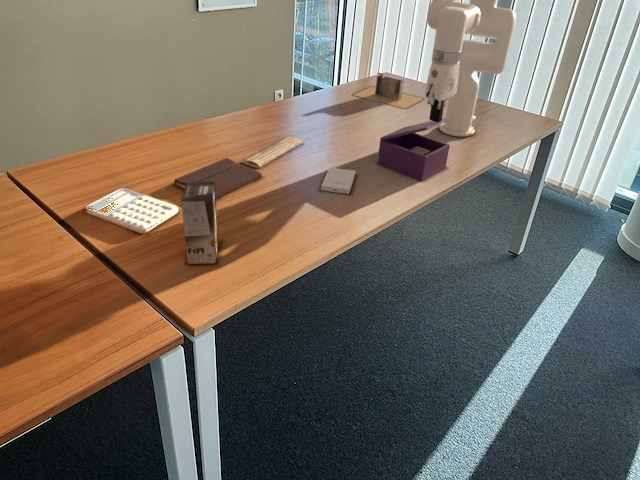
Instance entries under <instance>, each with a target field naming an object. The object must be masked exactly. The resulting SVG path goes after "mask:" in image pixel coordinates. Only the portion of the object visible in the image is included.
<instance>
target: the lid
mask: <svg viewBox="0 0 640 480" xmlns="http://www.w3.org/2000/svg"><path fill="white" fill-rule="evenodd" d="M445 117H446V116H445ZM445 117H442V121H440V122H435V121H431V120H429V121H425V122H421V123H417V124H413V125H409V126H404V127H401V128H400V129H397V130H395V131H392V132H390V133H388V134H385V135H383V136H381V137H380V138H379V139H380V140H384V139H389V138H393V137H398V136H403V135H407V134H412V133H420V132H425V131H429V130H431V129H433V128H436V127H437V126H440V124H442V123H444V122H446V121H448V120H451V119H452V117H446V118H445Z"/></svg>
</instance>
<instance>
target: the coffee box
mask: <svg viewBox="0 0 640 480" xmlns="http://www.w3.org/2000/svg"><path fill="white" fill-rule="evenodd" d="M180 203H181V213H182V221H183V230H184V231H183V232H184V240H185V248H186V249H185V250H186V258H187V259H186V260H187V264H189V265H191V264H197V265H198V264H216V261H217V256H218V255H217V254H218V248H219V242H220V239H219V237H220V236H219V223H218V210H217V199H216V194H215V182H187V184H186V187H185V190H184V189H183V193H182V196H181V199H180ZM188 260H189V261H188ZM190 260H191V261H190ZM200 260H201V261H200Z"/></svg>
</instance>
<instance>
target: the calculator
mask: <svg viewBox="0 0 640 480" xmlns="http://www.w3.org/2000/svg"><path fill="white" fill-rule="evenodd" d="M108 198H110V199H108ZM111 198H113V199H111ZM113 202H114V204H116V205H114V204H113V205H114V207H115V208H114V207H112V206H113V205H111V203H113ZM117 204H118V205H117ZM108 205H110V206H111V207H112V209H114V210H112V209H110V208H111V207H109V206H108ZM88 206H90V207H91V206H93V207H91V208H92V209H93V208H94V209H93V210H91V209H88V208H87V207H88ZM106 206H108V207H109V209H110V210H111V211H110V210H108V209H107V210H108V213H107V212H106V213H104V212H101V211H100V212H99V211H98V210H100V209H102V208H104V207H106ZM90 207H89V208H90ZM108 207H107V208H108ZM86 208H87V209H88V210H90V211H93V212H95V213H98V214H101V215H103V216H106V217H108V218H110V219H113V220H116V221H119V222H121V223H123V224H125V225H123V224H120V223H118V222H115V221H112V220H110V219H107V218H104V217H101V216H99V215H96V214H93V213H91V212H88V211H86V210H85V212H86V213H87V214H89V215H90V216H92V217H96V218H98V219H101V220H104V221H106V222H109V223H112V224H114V225H117V226H120V227H122V228H125V229H128V230H131V231H132V232H133V231H134V232H136V233H138V234H146V233H148V232H150V231H151V230H153V229H154V228H156V227H157V226H159V225H160V224H163V223H164V222H165V221H167V220H168V219H170V218H172V217H173V216H175V215H176V214H178V212H179V207H178V206H177V205H175V204H173V203H169V202H166V201H164V200H161V199H157V198H155V197H152V196H149V195H147V194H143V193H141V192H137V191H134V190H131V189H128V188H119V189H116V190H114V191H113V192H111V193H109V194H106V195H105V196H103V197H102V198H100V199H97V200H96V201H93V202H92V203H90V204H88V205H87V206H86V207H85V209H86ZM95 209H96V210H95ZM104 210H105V209H104ZM96 211H97V212H96ZM109 211H110V212H109ZM161 220H162V221H161ZM156 223H157V224H156ZM126 225H128V226H130V227H128V226H126ZM153 225H154V226H153ZM151 226H152V227H151ZM131 227H133V228H131ZM150 227H151V228H150ZM134 228H136V229H134ZM148 228H149V229H148ZM137 229H138V230H137ZM139 230H145V231H139Z"/></svg>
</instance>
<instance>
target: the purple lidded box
mask: <svg viewBox="0 0 640 480" xmlns="http://www.w3.org/2000/svg"><path fill="white" fill-rule="evenodd" d="M416 146H418V147H421V148H424V149H427V150H430V151H431V153H429V154H427V155H425V156H424V155H422V154H419V153H416V152H413V151H411V150H410V149H412V148H414V147H416ZM450 147H451V145H450V144H448V143H445V142H443V141H439V140H437V139H434V138H431V137H428V136H425V135H422V134H419V133H418V132H416V133H412V134H407V135H403V136H398V137H393V138H389V139H384V140H381V139H380V141H379V148H378V157H377V165H380V166H382V167H384V168H388V169H390V170H393V171H395V172H398V173H401V174H402V175H406V176H407V177H410V178H413V179H416V180H418V181H420V182H423V181H424V180H426V179H428V178H430V177H431V176H434V175H435V174H437V173H439V172H441V171H442V170H445V169H446V167H447V162H448V157H449V151H450Z"/></svg>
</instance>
